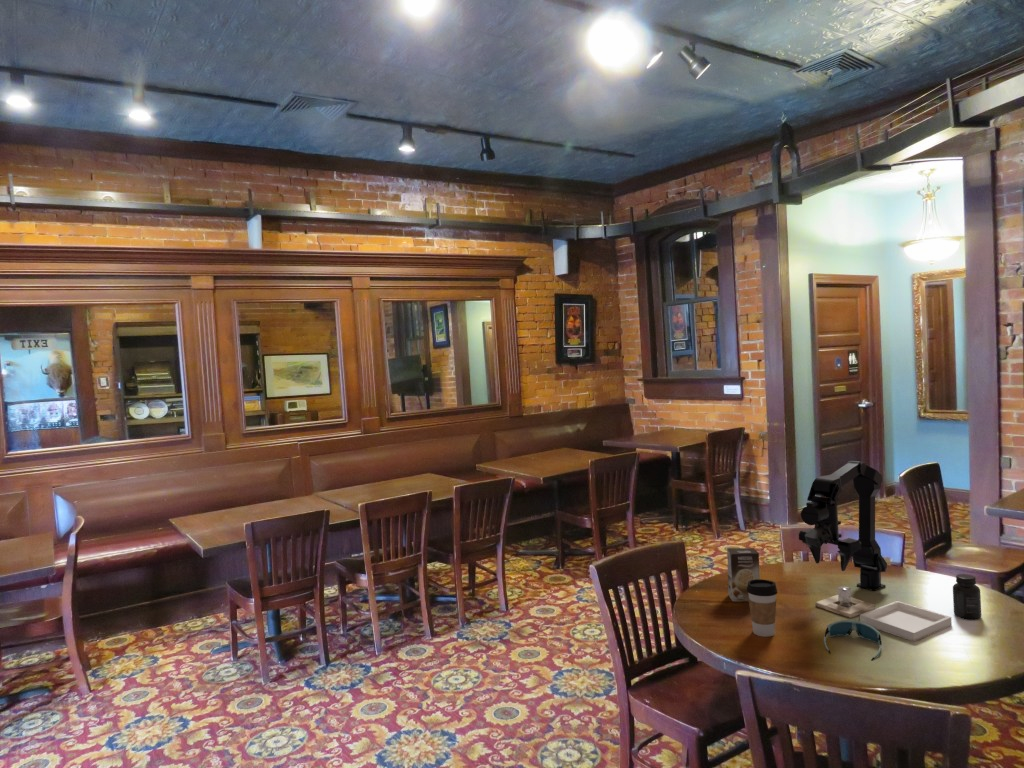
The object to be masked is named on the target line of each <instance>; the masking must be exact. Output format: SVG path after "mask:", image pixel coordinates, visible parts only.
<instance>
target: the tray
mask: <svg viewBox="0 0 1024 768" xmlns="http://www.w3.org/2000/svg"><path fill="white" fill-rule="evenodd" d="M859 619H860V620H859V621H860V622H862V623H866V624H868V625H870V626H872V627H873V628H875V629H876V630H880V631H883V632H885V633H887V634H888V633H889V634H891V635H894V636H895V637H900V638H902V639H906V640H908V641H911V642H918V641H919V639H920V640H922V639H924V638H927V637H929V636H931V635H933V634H936V633H938V632H940V631H942V630H943V631H944V630H945V629H947V628H950V627H952V622H953V621H952V617H951V616H949V615H945V614H942V613H939V612H936V611H932V610H928V609H926V608H922V607H919V606H915V605H913V604H909V603H906V602H902V601H899V600H896V601H893V602H890V603H888V604H885V605H882V606H880V607H877V608H875V609H873V610H870V611H867V612H865V613H862V614H859Z"/></svg>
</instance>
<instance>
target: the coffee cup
mask: <svg viewBox="0 0 1024 768" xmlns="http://www.w3.org/2000/svg"><path fill="white" fill-rule="evenodd" d="M747 592H748V593H749V597H748V599H749V601H748V604H749V606H748V607H749V612H750V613H749V614H750V620H751V625H752V632H753V634H754V635H757V636H758V637H762V638H763V637H764V638H765V637H766V638H767V637H772V636H775V631H776V616H777V615H776V613H777V594H778V588H777V583H776V582H774V581H773V580H769V579H763V578H760V579H755V580H750V581H749V582H748V586H747Z"/></svg>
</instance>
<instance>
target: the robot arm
mask: <svg viewBox="0 0 1024 768" xmlns="http://www.w3.org/2000/svg"><path fill="white" fill-rule="evenodd" d="M851 481H852V484H853V485H852V486H853V489H854V490H855V492H856V493H857V495H858V539H855V538H851V537H847V538H844V539H840V538H842V537H843V535H842V533H839V526H840V525H841V524H842V521H841V520H839V516H838V515H839V513H838V503H839V502H841V499H840V498H839V496H840V494H841V493H842V492H843V487H844V486H846V485H847V484H848V483H850V482H851ZM882 482H883V475H882V474H881V473H880V472H879V471H878V470H877V469H875V468H873V467H871V466H869V465H867V464H866V463H865V462H863V461H859V460H858V461H857V460H849V461H846V463H845V464H844V465H843V466H841V467H840V468H838V469H837V470H835V471H833V473H831V474H827V475H820V476H818V477H815V479H814V480H813V481H812V483H811V485H810V486H811V487H810V490H809V493H808V496H807V502H806V506H804V507H803V508H802V509H801V512H800V516H801V517H800V518H801V520H802V522H804V523H805V524H806V525H808V526H814V528H811V527H810V528H806V529H802V530H800V531H799V533H798V540H799V541H801V542H802V544H805V545H806V546H807V547H808V548H809V550H810V552H811V554H812V557H813V560H814V562H815V564H820V561H821V552H822V550H821V549H822V546H823V544H825V545H827V544H831V545H834V546H837V548H838V550H837V553H838V554H839V556H840V557H839V559H840V569H841V572H845V571H846V569H847V567H848V565H849V563H850V560H851V558H852V562H853V566H854V568H858V569H860V570H859V573H860V574H859V581H860V582H859V583H856V586H857V587H860V588H863V589H867V590H871V591H874V592H875V591H877V590H880V589H883V588H886V585H885V584H884V583H882V574H881V573H886V571H887V568H888V563H887V561H886V560H885V558H884V557H883V555H882V551H881V547H880V545H879V544H878V542H877V540H876V496H877V494H878V493H879V492H880V490H881V487H882Z"/></svg>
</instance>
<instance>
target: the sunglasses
mask: <svg viewBox="0 0 1024 768" xmlns="http://www.w3.org/2000/svg"><path fill="white" fill-rule="evenodd" d="M853 631H855V633H856V634H857V636H858V638H862V639H866V640H868V641H872V642H874V643H876V644H877V645H878V644H879V645H878V647H879V648H878V651H877V653H876V654H875V655H874V656H873V657H872V658H871V661H874V660H875V659H877V658H878V657H879V655H881V652H882V644H883V643H882V637H881V632H880V631H878V629H876V628H873V627H872V626H870V625H868V624H866V623H862V622H860V620H853V619H847V620H846V619H844V620H843V619H842V620H837V621H834V622H831V623H829V624H828V625H827V626H826V629H825V632H824V637H823V644H824V646H825V649H826V651H827V652H828V654H829V655H831V654H832V653H831V651H830V649H829V647H828V646H827V642H826V641H827V636H828V637H830V638H832V637H836V636H851V635H852V633H853Z"/></svg>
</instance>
